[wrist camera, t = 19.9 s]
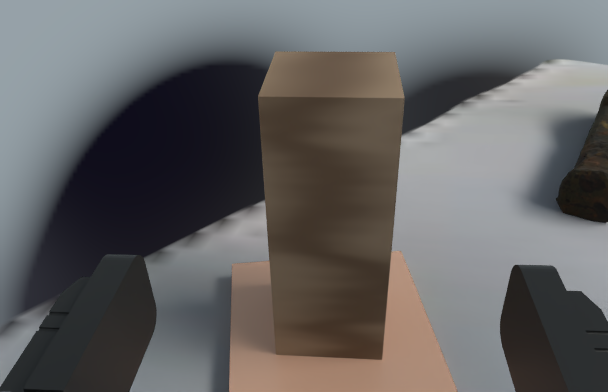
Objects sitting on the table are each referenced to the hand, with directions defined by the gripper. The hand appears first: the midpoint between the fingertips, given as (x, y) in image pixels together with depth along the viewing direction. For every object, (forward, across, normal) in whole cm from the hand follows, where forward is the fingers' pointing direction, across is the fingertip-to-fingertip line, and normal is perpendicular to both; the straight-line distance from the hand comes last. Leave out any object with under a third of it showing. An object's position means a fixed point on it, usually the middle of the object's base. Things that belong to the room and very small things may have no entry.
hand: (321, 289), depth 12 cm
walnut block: (+11, 0, +12) cm, 16 cm away
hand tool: (+30, -20, +14) cm, 39 cm away
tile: (+11, 0, +13) cm, 17 cm away
